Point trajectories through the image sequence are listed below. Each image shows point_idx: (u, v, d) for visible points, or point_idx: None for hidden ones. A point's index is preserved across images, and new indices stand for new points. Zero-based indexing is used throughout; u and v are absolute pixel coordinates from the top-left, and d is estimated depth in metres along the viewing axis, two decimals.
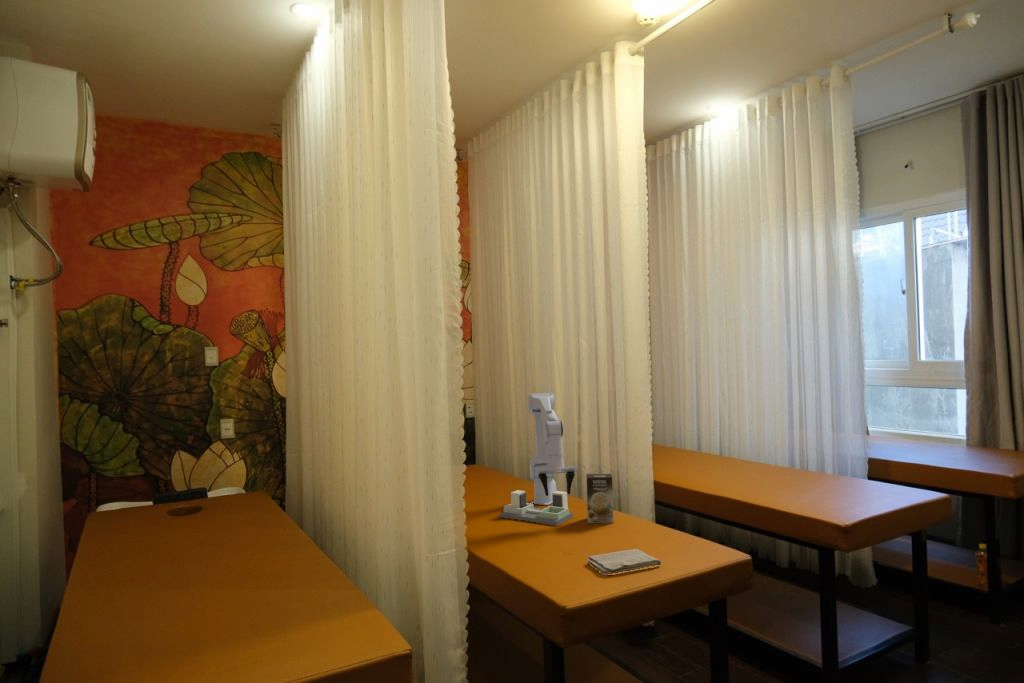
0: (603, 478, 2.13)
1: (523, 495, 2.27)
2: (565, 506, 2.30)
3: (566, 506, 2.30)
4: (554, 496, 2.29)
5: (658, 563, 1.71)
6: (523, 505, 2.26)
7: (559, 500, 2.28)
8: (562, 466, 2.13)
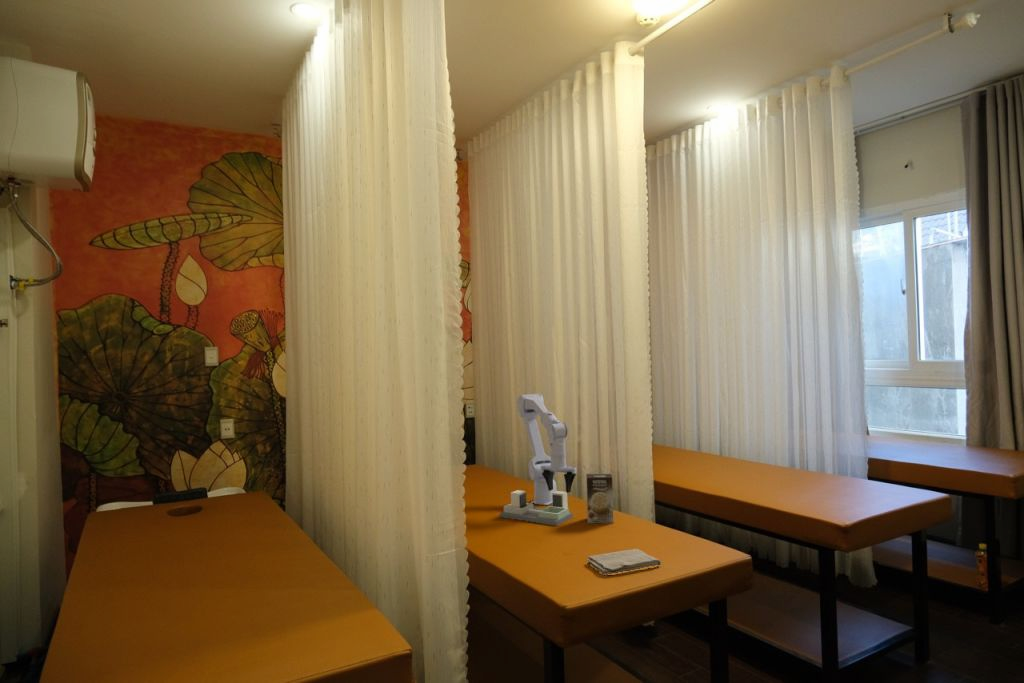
0: (603, 478, 2.13)
1: (523, 495, 2.27)
2: (565, 506, 2.30)
3: (566, 506, 2.30)
4: (554, 496, 2.29)
5: (658, 563, 1.71)
6: (523, 505, 2.26)
7: (559, 500, 2.28)
8: (560, 466, 2.28)
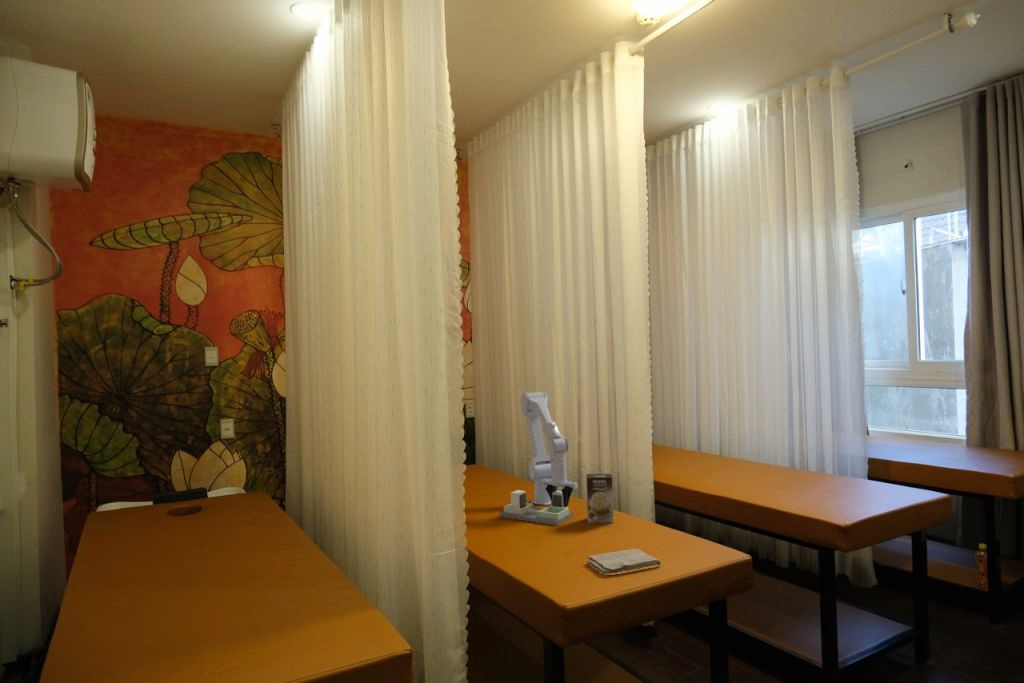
0: (603, 478, 2.13)
1: (523, 495, 2.27)
2: None
3: None
4: (554, 496, 2.29)
5: (658, 563, 1.71)
6: (523, 505, 2.26)
7: (559, 500, 2.28)
8: (561, 481, 2.28)
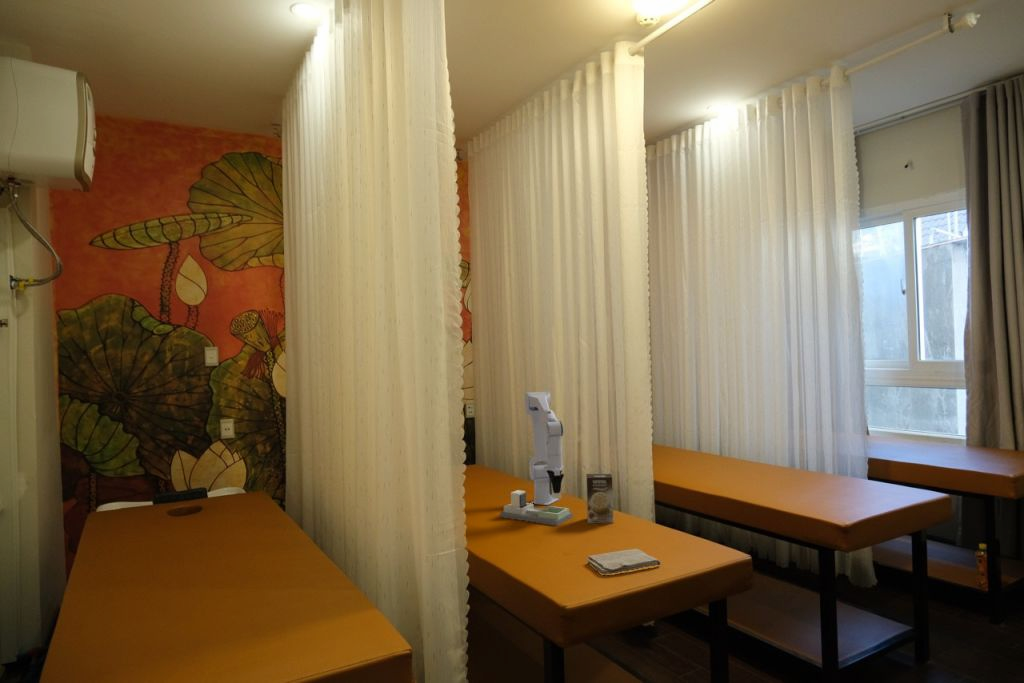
0: (603, 478, 2.13)
1: (523, 495, 2.27)
2: None
3: (559, 493, 2.22)
4: None
5: (658, 563, 1.70)
6: (523, 505, 2.26)
7: (549, 484, 2.23)
8: (550, 466, 2.22)
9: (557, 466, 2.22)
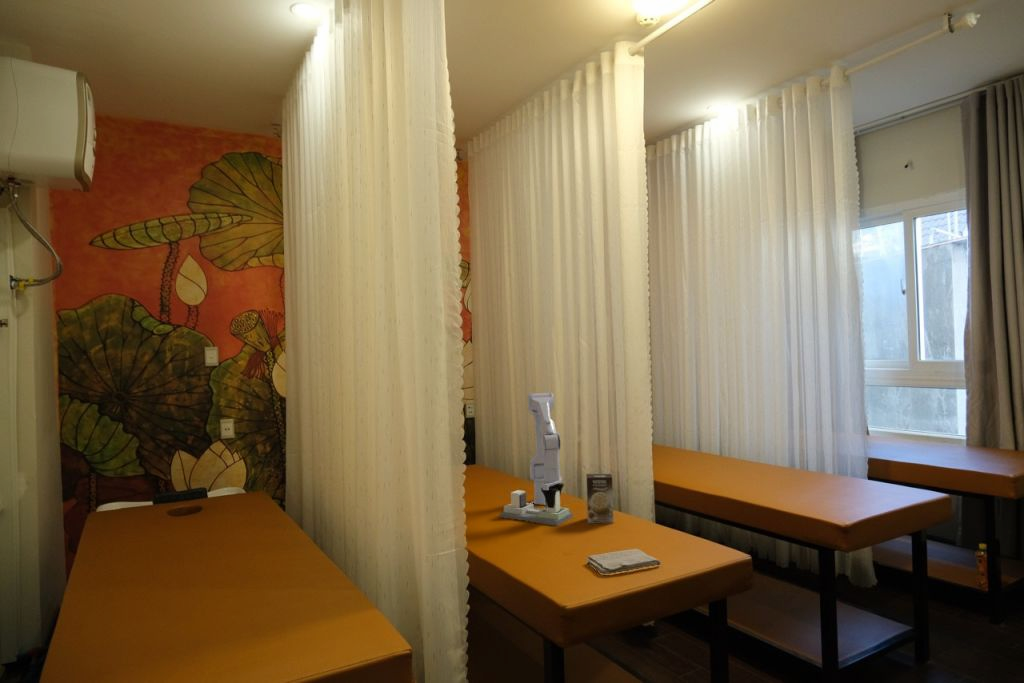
0: (603, 478, 2.13)
1: (523, 495, 2.27)
2: None
3: (553, 508, 2.17)
4: None
5: (657, 563, 1.70)
6: (523, 505, 2.26)
7: None
8: (545, 479, 2.19)
9: (551, 480, 2.17)
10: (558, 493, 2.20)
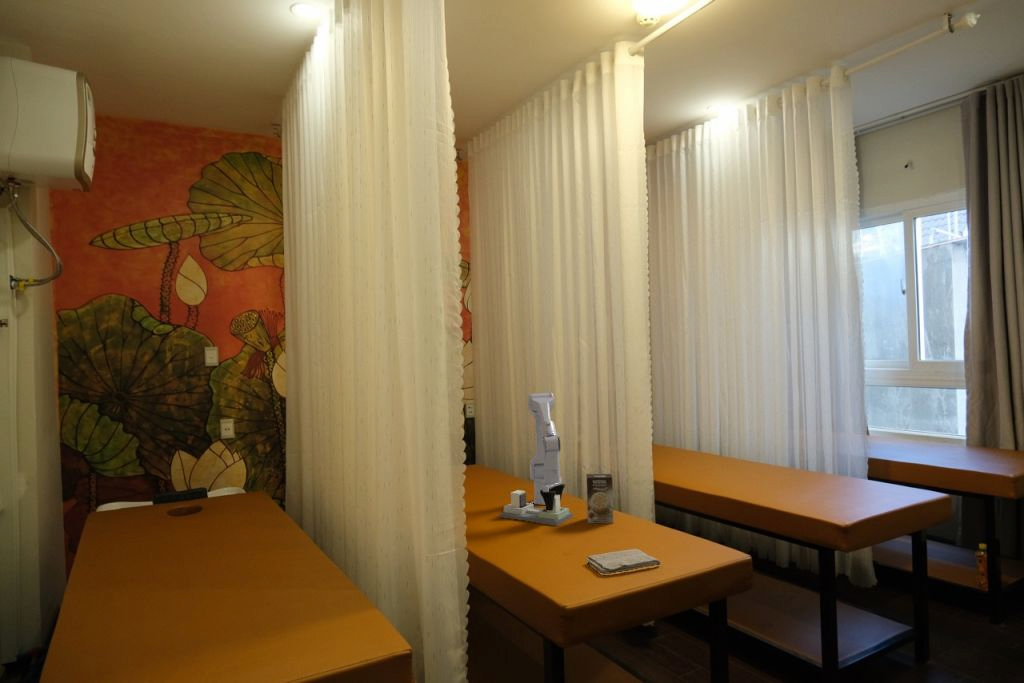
0: (603, 478, 2.13)
1: (523, 495, 2.27)
2: (551, 511, 2.18)
3: (553, 512, 2.17)
4: None
5: (657, 563, 1.71)
6: (523, 505, 2.26)
7: None
8: (545, 481, 2.19)
9: (551, 482, 2.17)
10: (558, 497, 2.20)
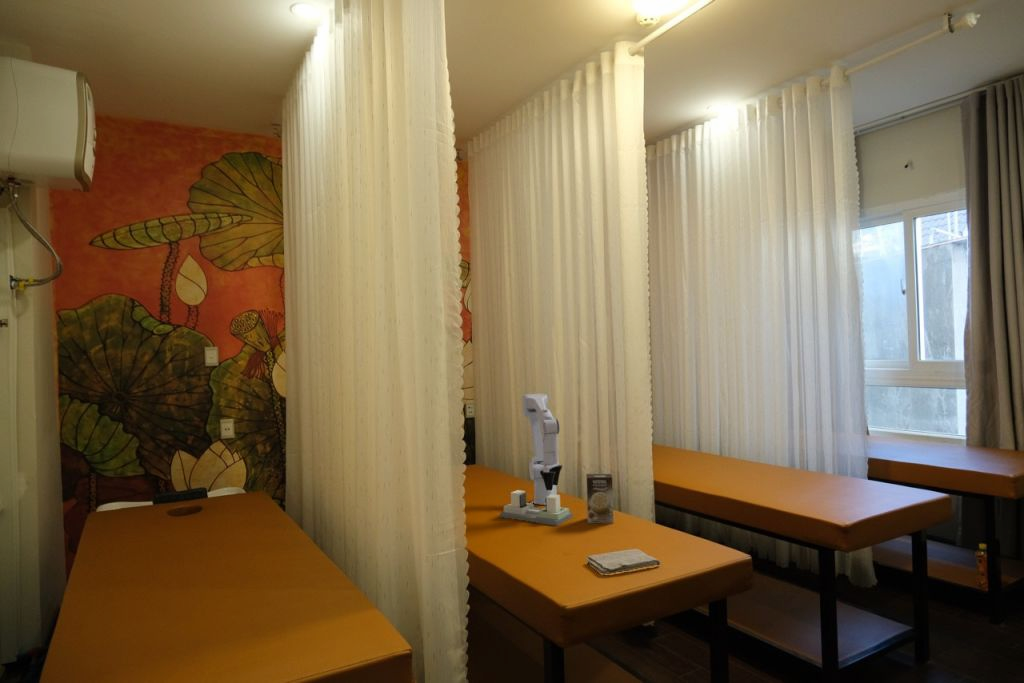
0: (603, 478, 2.13)
1: (523, 495, 2.27)
2: (551, 511, 2.18)
3: (553, 512, 2.17)
4: None
5: (657, 563, 1.71)
6: (523, 505, 2.26)
7: None
8: (544, 462, 2.28)
9: (550, 463, 2.27)
10: (558, 497, 2.20)
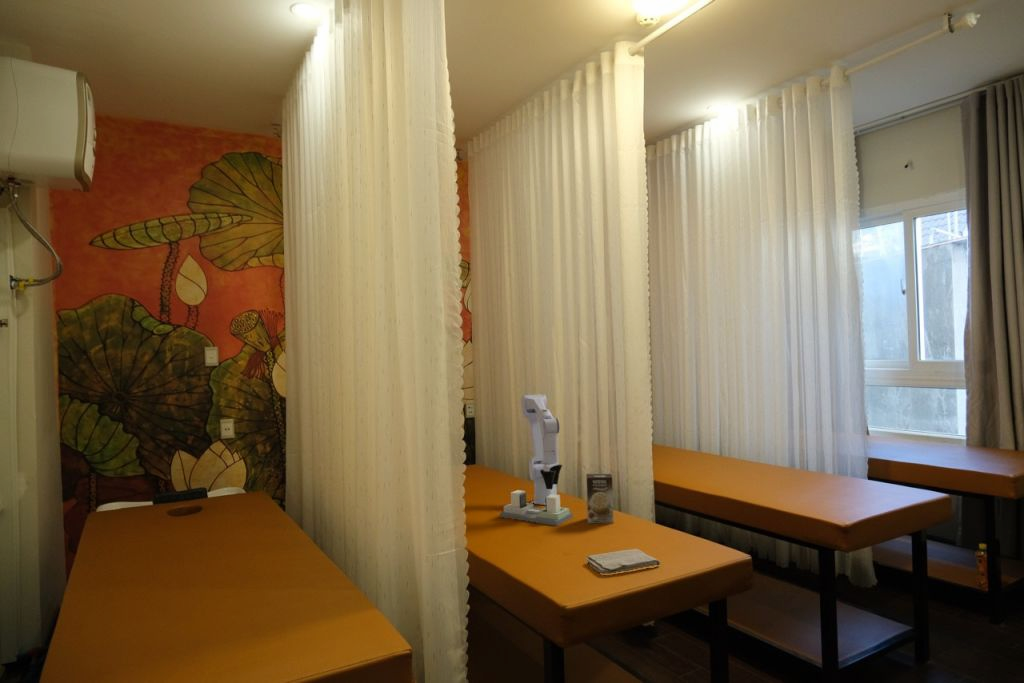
0: (603, 478, 2.13)
1: (523, 495, 2.27)
2: (551, 511, 2.18)
3: (553, 512, 2.17)
4: None
5: (657, 563, 1.71)
6: (523, 505, 2.26)
7: None
8: (544, 462, 2.29)
9: (550, 462, 2.27)
10: (558, 497, 2.20)
